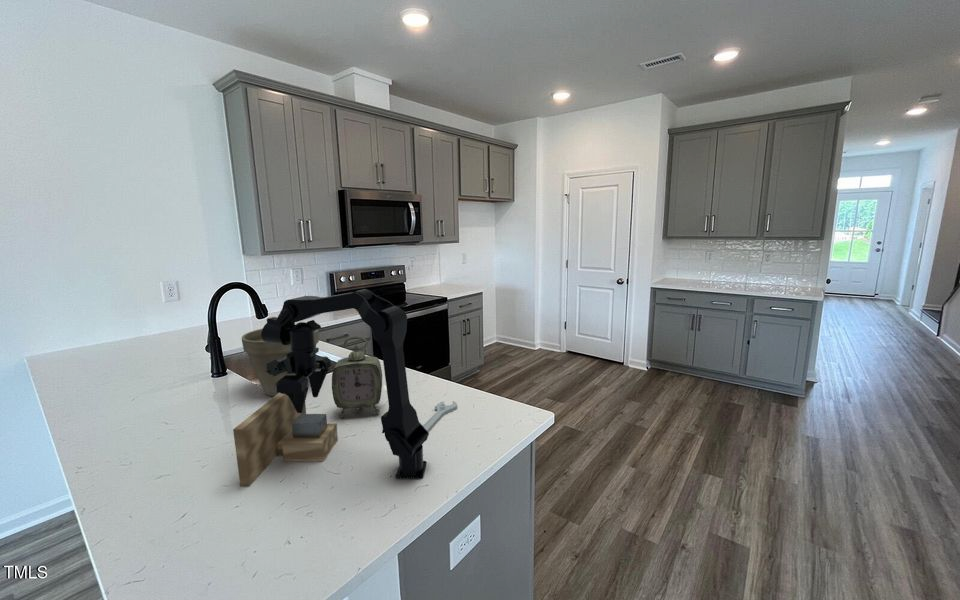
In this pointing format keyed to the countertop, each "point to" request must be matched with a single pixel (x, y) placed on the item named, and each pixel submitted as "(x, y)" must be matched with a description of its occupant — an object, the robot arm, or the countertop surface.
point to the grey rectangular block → (309, 426)
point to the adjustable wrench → (439, 414)
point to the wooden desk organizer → (276, 439)
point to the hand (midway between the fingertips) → (307, 404)
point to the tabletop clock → (357, 380)
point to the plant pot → (267, 358)
